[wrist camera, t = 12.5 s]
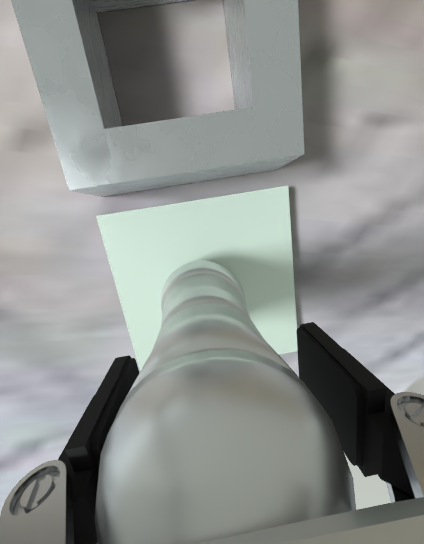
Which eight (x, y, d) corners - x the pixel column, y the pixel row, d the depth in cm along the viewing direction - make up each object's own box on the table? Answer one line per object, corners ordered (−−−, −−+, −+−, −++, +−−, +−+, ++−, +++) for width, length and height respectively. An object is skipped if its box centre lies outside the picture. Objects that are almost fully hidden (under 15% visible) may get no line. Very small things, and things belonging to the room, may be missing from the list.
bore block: (38, -39, 15) (-39, -164, 10) (259, -66, 15) (289, -197, 10) (102, 196, 18) (69, 190, 14) (276, 169, 19) (304, 153, 14)
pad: (101, 216, 19) (96, 216, 18) (283, 186, 19) (288, 185, 18) (144, 372, 23) (142, 379, 22) (294, 345, 23) (298, 350, 22)
